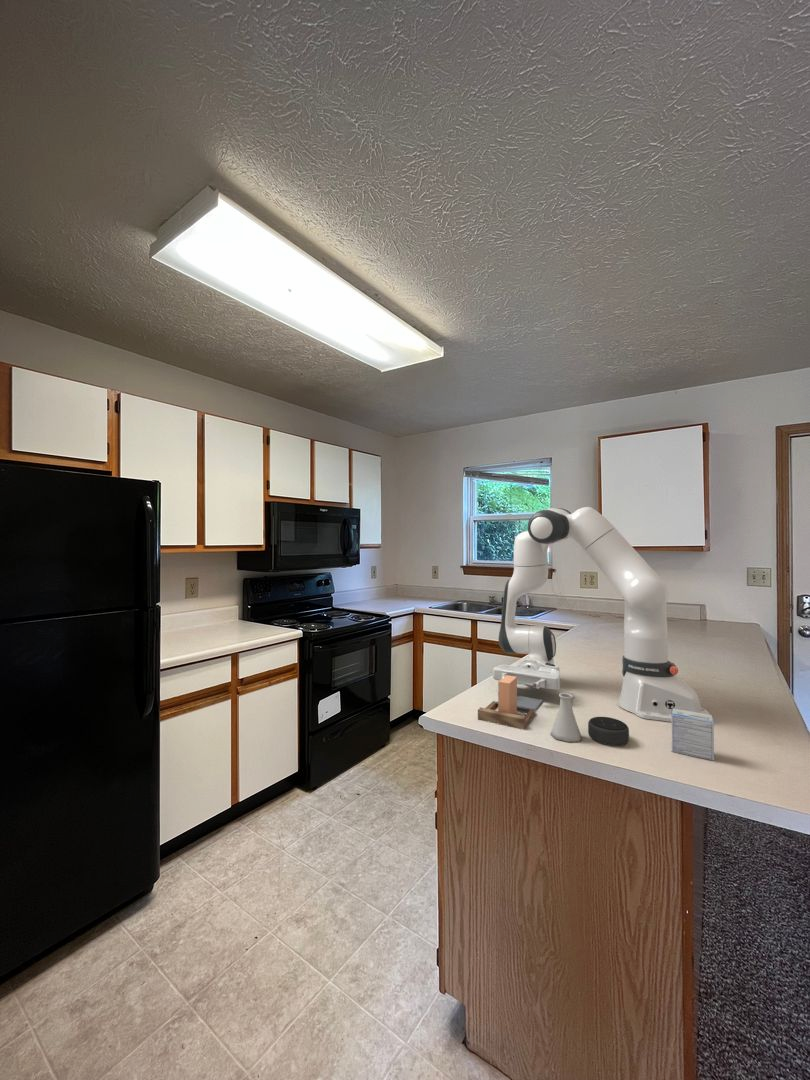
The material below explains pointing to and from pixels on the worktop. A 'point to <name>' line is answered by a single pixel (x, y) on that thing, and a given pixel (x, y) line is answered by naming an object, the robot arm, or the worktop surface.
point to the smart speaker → (608, 731)
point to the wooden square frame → (506, 716)
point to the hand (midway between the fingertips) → (519, 683)
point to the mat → (528, 702)
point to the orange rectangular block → (507, 694)
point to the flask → (566, 721)
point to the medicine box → (692, 734)
